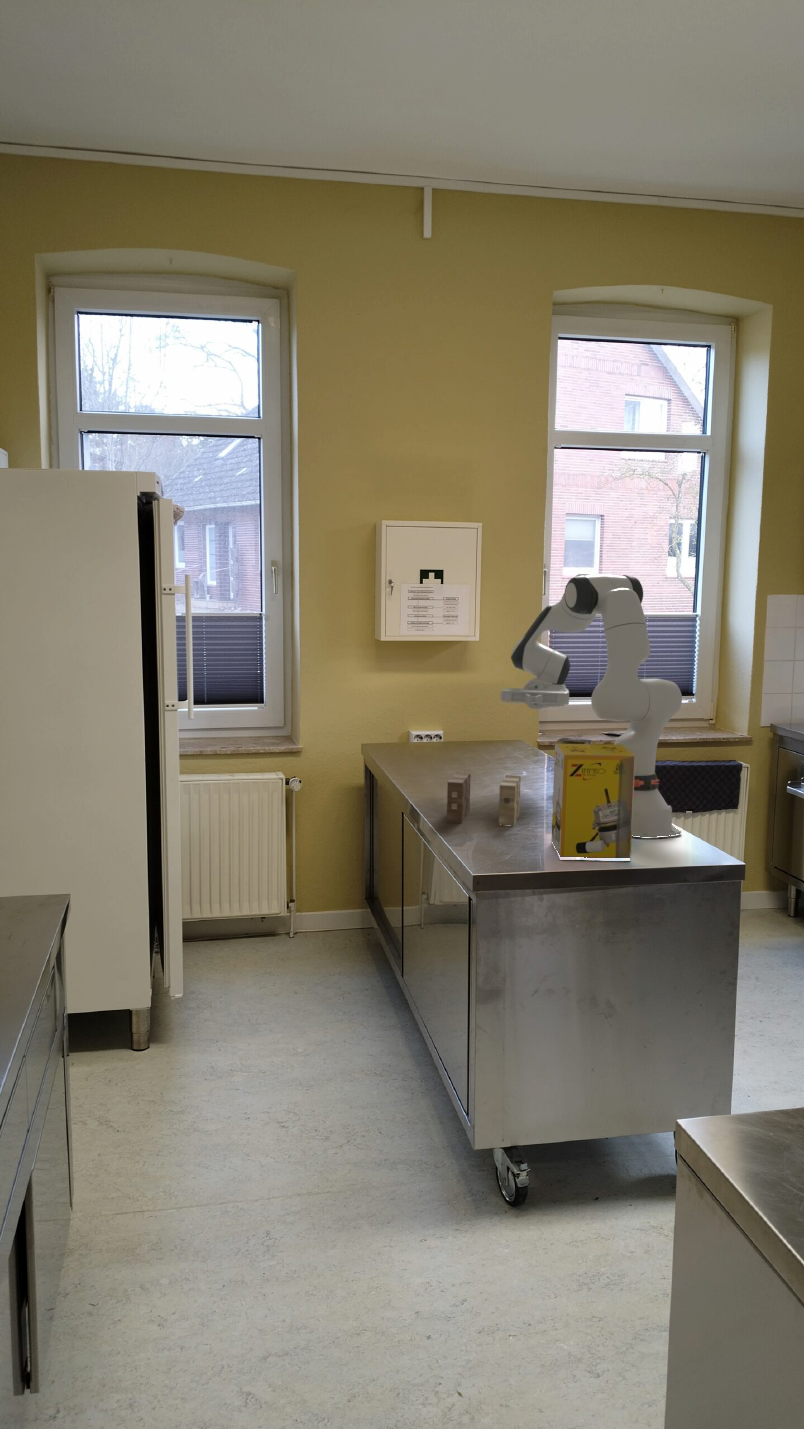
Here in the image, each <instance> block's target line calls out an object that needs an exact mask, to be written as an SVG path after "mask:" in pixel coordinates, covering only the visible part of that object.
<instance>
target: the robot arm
mask: <svg viewBox="0 0 804 1429" xmlns="http://www.w3.org/2000/svg"><path fill="white" fill-rule="evenodd" d="M643 588H644V587H643V585H642V583H641V581H640V580H639V579H638V578H637V577H635V576H631V575H626V574H623V575H615V574H605V573H602V574H601V573H600V574H597V573H596V574H595V573H593V572H590V571H589V572H588V571H583V572H580V573H578V574H577V575H575V576H574V577H571V578H570V579H569V580H568V582H567V584H566V585H565V587H564V593H563V595H562V596H561V598H560V600H559V601H558V602H557V603H555V604H548V605H547V606H546V607H544V608H543V610H542V611H541V612H540V614H539V615H538V616H537V617H536V618H535V620H534V621H533V623H532V624H531V626H529V628H528V630H526V632H525V634H524V636H522V638H521V639H520V640H518V641H517V643H516V644H515V645H514V647H513V649H512V651H511V654H510V655H511V656H510V659H511V662H512V664H513V666H514V667H515V668H517V669H518V670H522V671H524V672H527V673H528V674H531V675H533V676H535V677H533V678H532V679H530V680H529V681H528V682H526V684H525V685H524V687H523V688H517V687H507V688H503V689H501V690H500V702H501V703H511V704H512V703H514V704H515V703H516V704H525V705H526V706H527V707H528V708H530V709H534V710H540V709H546V708H549V707H552V708H553V707H564V706H568V705H569V703H570V690H569V689H568V688H567V686H566V684H565V682H566V680H567V678H568V676H569V672H570V670H571V662H570V659H569V657H568V655H566V654H564V653H562V652H560V651H557V650H555V649H553V648H551V647H548V646H547V645H544V644H542V643H541V642H539V641H538V639H539V638H540V637H541V636H542V634H543V633H544V632H547V631H557V632H563V633H567V634H577V633H579V632H583V631H585V630H587V629H588V628H589V627H590V626H591V624H592V623H593V621H594V620H595V619H596V618H595V617H596V616H597V615H600V616H602V621H603V622H602V623H603V631H604V638H605V643H606V644H605V645H606V654H607V663H606V670H605V673H604V675H603V677H602V679H601V681H600V682H599V683H598V684H597V685H596V686H595V687H594V689H593V691H592V694H591V699H590V702H591V703H590V704H591V707H592V711H593V712H594V714H595V715H596V716H597V717H598V718H599V719H602V720H605V721H610V722H611V721H612V722H618V723H619V722H630V723H629V724H628V727H627V729H626V731H625V732H623V733H622V734H621V735H620V736H618V737H617V738H616V739H615V741H614V743H613V745H623V746H624V747H625V748H626V749H627V750H628V751H630V752H631V753H632V754H633V755H634V756H635V775H634V796H633V817H632V835H633V836H640V837H657V836H669V835H670V836H671V835H676V834H680V833H681V834H682V831H681V830H680V829H679V828H677V827H676V826H674V825H673V816H672V813H673V807H672V806H671V805H668V803H667V802H666V800H665V799H664V797H663V796H662V793H660V791H659V789H658V788H659V784H660V783H659V782H660V781H661V780H660V779H658V776H657V773H656V772H655V771H656V760H657V759H656V758H657V750H658V749H657V748H658V745H659V744H658V743H659V740H660V738H661V735H662V733H663V730H664V729H665V727H666V725H667V723H668V722H669V721H670V720H671V719H672V718H673V717H674V716H675V715H676V714H678V713H679V710H680V708H681V705H682V702H683V695H682V692H681V689H680V688H679V686H678V684H677V683H675V682H674V681H670V680H668V679H663V678H658V677H657V678H639V675H638V674H639V673H638V672H639V667H640V665H642V664H643V663H645V662H646V661H647V660H648V658H649V656H650V654H651V645H650V640H649V639H650V638H649V634H648V627H647V622H646V616H645V612H644V610H643V609H644V608H643V606H642V602H643V599H644V589H643ZM675 827H676V828H677V829H676V828H675ZM678 829H679V830H680V831H679V830H678Z"/></svg>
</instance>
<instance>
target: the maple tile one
mask: <svg viewBox="0 0 804 1429" xmlns="http://www.w3.org/2000/svg"><path fill="white" fill-rule="evenodd" d="M498 795H499V796H498V798H499V799H498V825H499V824H501V825H511V826H514V827H515V825H516V823H517V821H518V819H517V818H519V817H520V806H521V775H512V774H511V775H510V774H509V775H507V774H506V775H505V776H504V778H503V779H502V781H501V782H500V783H499V794H498ZM518 816H519V817H518ZM516 820H517V821H516ZM515 822H516V823H515ZM514 824H515V825H514Z"/></svg>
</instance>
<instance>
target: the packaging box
mask: <svg viewBox="0 0 804 1429" xmlns="http://www.w3.org/2000/svg"><path fill="white" fill-rule="evenodd" d="M553 764H554V765H553V784H552V785H553V787H552V788H553V789H552V790H553V791H552V812H551V813H552V817H551V818H552V819H551V840H550V841H552V842H553V844H554V846H555V848H556V850H557V851H558V853H559V855H560V857H584V858H586V857H587V858H632V856H631V853H632V838H633V837H632V817H633V796H634V775H635V756H634V755H633V754H632V753H631V752H630V751H628V750H627V749H626V748H625V747H624V746H623V745H614V744H606V743H605V744H604V743H603V744H602V743H601V744H600V743H599V744H598V743H596V744H595V743H590V744H557V743H554V761H553Z"/></svg>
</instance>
